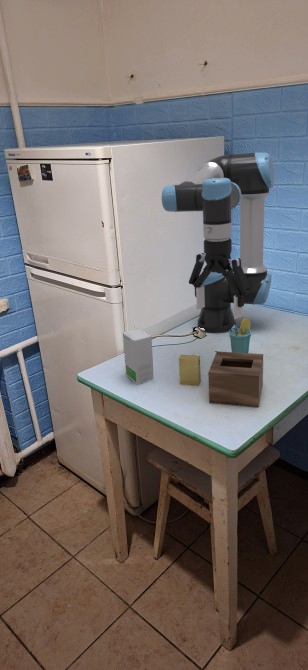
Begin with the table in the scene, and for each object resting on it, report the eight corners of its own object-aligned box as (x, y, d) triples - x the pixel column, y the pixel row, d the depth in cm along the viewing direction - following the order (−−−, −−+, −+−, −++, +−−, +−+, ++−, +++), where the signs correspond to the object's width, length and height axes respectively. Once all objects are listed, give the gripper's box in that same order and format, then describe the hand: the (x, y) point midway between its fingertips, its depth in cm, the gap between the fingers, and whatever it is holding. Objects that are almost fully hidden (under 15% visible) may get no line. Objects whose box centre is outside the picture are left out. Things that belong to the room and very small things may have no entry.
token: (182, 379, 150) (181, 354, 147) (200, 381, 148) (199, 355, 145) (180, 384, 147) (178, 358, 144) (198, 385, 146) (197, 359, 142)
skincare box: (125, 375, 156) (121, 332, 150) (143, 369, 159) (139, 327, 153) (137, 385, 149) (133, 340, 143) (155, 379, 152) (152, 334, 146)
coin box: (217, 380, 148) (216, 351, 144) (262, 383, 144) (263, 354, 140) (209, 402, 136) (208, 372, 132) (258, 407, 132) (259, 375, 128)
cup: (242, 372, 152) (242, 329, 146) (220, 368, 155) (219, 326, 150) (256, 355, 163) (257, 314, 157) (235, 351, 166) (235, 312, 161)
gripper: (174, 237, 133) (178, 307, 141) (247, 245, 116) (246, 325, 124) (192, 232, 138) (194, 301, 146) (264, 240, 121) (263, 317, 129)
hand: (218, 312), depth 135 cm, fingers open, 13 cm apart
